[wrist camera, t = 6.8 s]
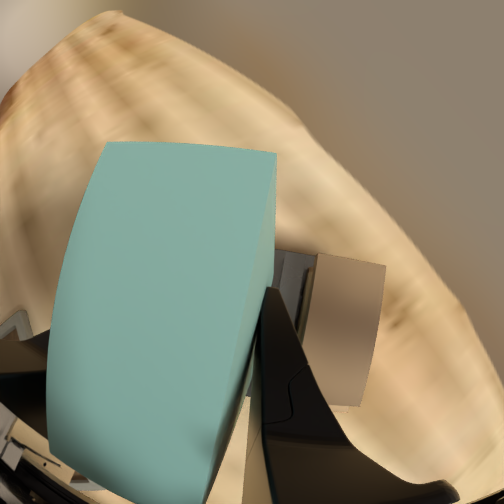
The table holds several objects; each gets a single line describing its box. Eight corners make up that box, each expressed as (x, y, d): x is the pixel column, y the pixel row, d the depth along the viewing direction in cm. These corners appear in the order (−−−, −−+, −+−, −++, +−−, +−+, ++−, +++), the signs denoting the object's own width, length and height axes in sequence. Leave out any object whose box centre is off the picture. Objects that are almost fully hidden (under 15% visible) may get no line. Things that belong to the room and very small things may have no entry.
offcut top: (353, 400, 13) (359, 406, 12) (288, 394, 14) (289, 400, 13) (378, 269, 15) (386, 265, 14) (314, 257, 15) (318, 252, 14)
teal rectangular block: (251, 378, 14) (196, 525, 2) (200, 365, 14) (49, 452, 3) (273, 275, 15) (276, 153, 4) (222, 265, 16) (107, 141, 4)
